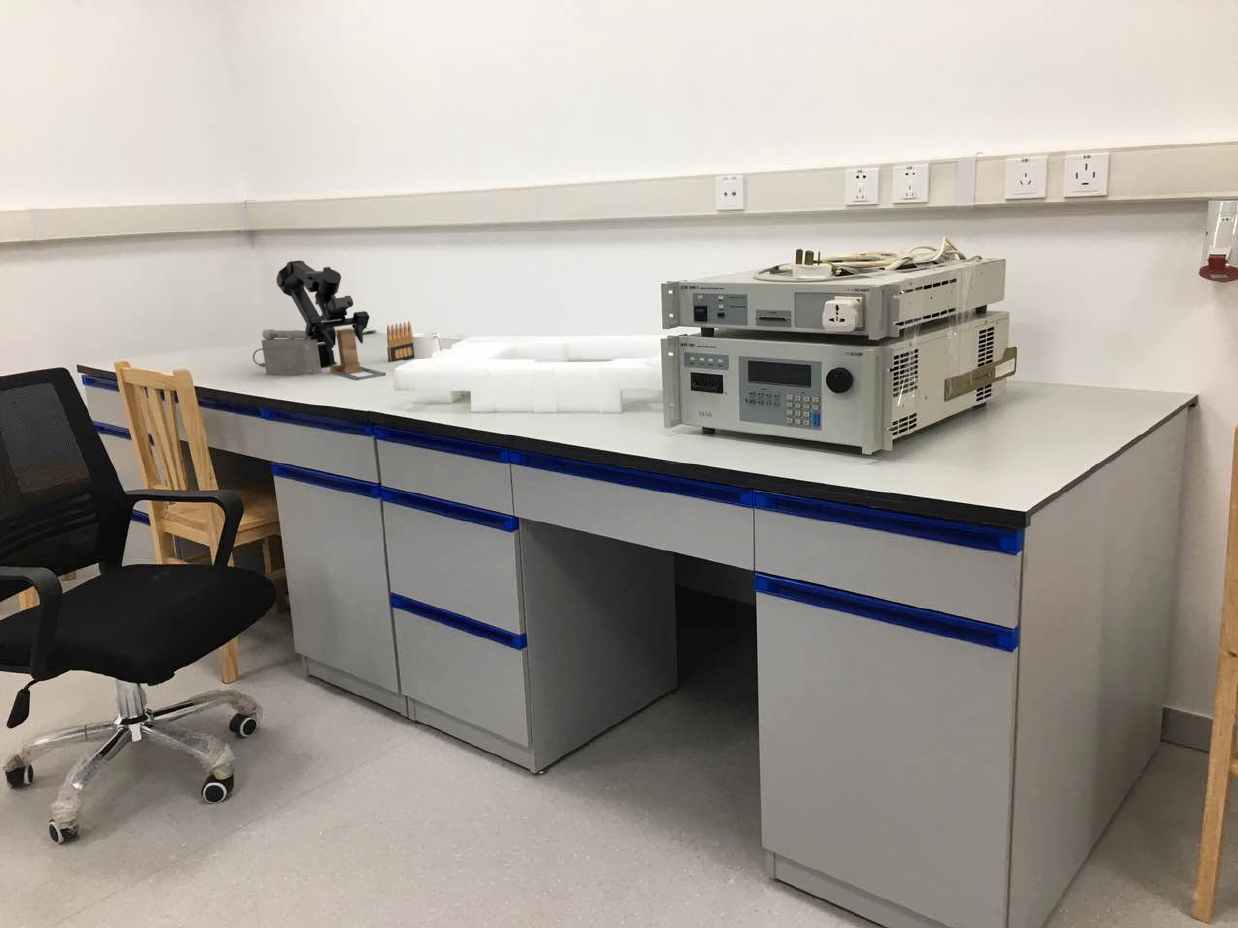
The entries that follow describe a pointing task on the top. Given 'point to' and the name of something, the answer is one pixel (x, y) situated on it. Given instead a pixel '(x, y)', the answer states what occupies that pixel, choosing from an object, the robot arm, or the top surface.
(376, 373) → the track
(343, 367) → the plate
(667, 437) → the top surface
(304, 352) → the geiger counter
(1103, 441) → the top surface
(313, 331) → the robot arm
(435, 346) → the cup
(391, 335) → the ammunition clip
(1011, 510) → the top surface
